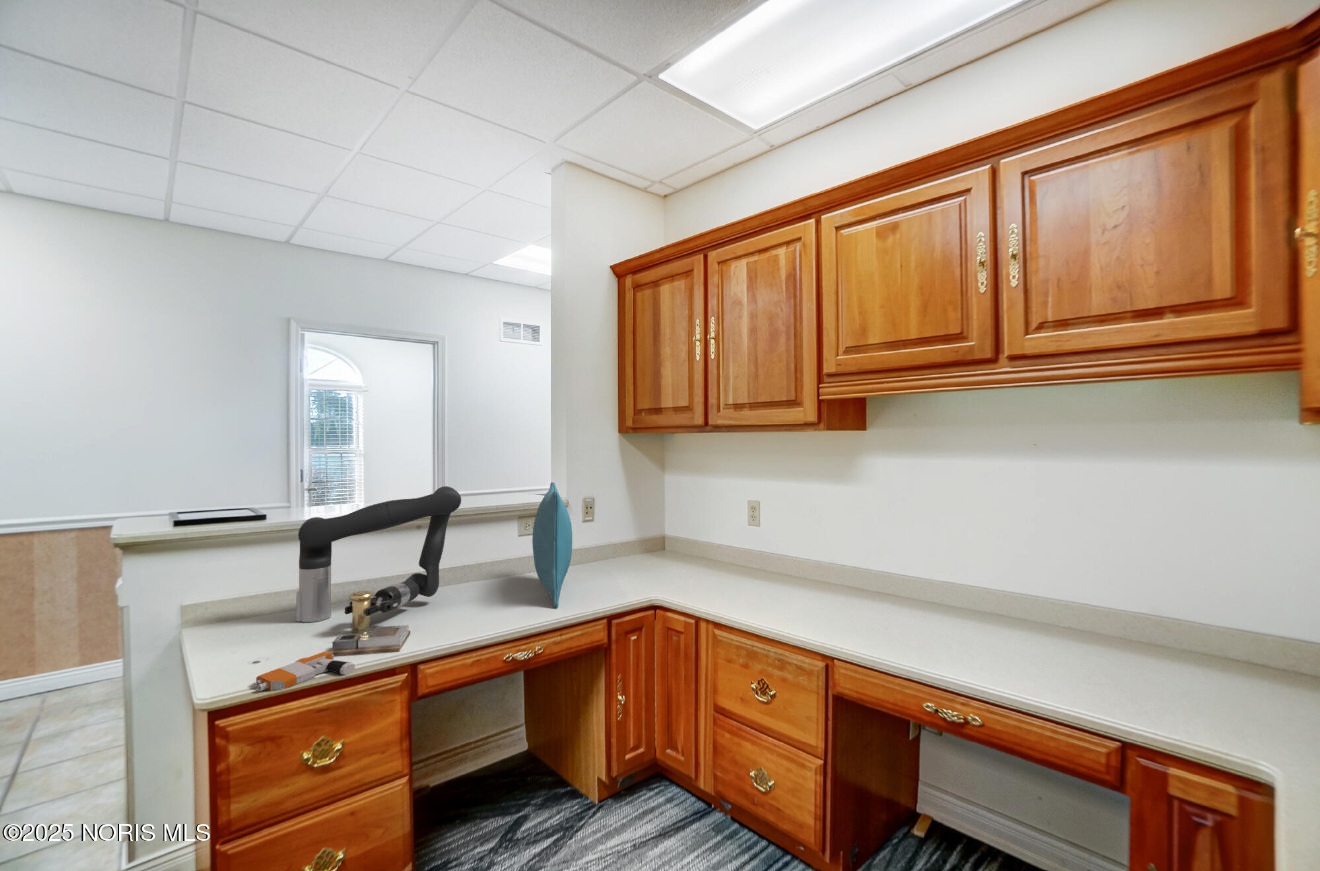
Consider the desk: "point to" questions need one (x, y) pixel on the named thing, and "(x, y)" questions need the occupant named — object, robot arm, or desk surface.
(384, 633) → the wide steel port
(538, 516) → the pillow
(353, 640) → the grey square ring
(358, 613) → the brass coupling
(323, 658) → the toy gun
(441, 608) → the desk surface
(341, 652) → the walnut board
